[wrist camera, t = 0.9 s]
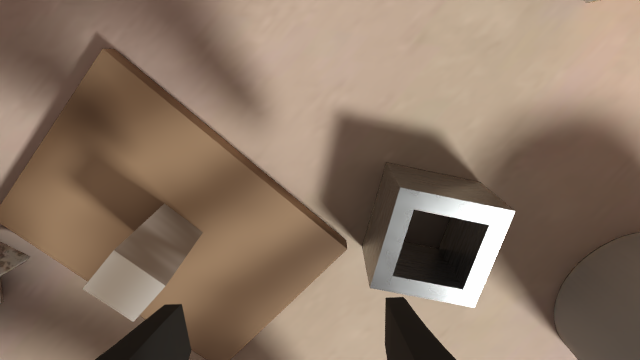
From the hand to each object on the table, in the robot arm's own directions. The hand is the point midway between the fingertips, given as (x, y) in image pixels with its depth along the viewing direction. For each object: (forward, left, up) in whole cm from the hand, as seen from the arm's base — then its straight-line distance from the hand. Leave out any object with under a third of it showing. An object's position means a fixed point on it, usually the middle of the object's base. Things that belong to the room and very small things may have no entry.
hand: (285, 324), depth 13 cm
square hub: (-5, -5, -9) cm, 11 cm away
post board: (+5, +5, -9) cm, 11 cm away
